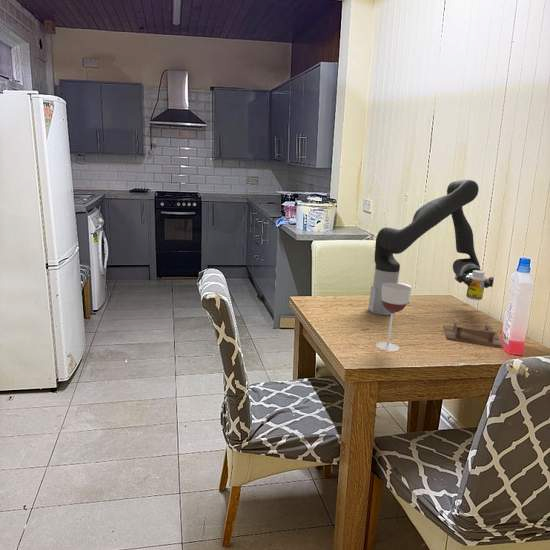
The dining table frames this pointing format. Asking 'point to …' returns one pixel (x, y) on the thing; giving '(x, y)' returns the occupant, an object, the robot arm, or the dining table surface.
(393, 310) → the wineglass
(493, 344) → the flat brown tray
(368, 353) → the dining table surface
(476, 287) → the supplement bottle
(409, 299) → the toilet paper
